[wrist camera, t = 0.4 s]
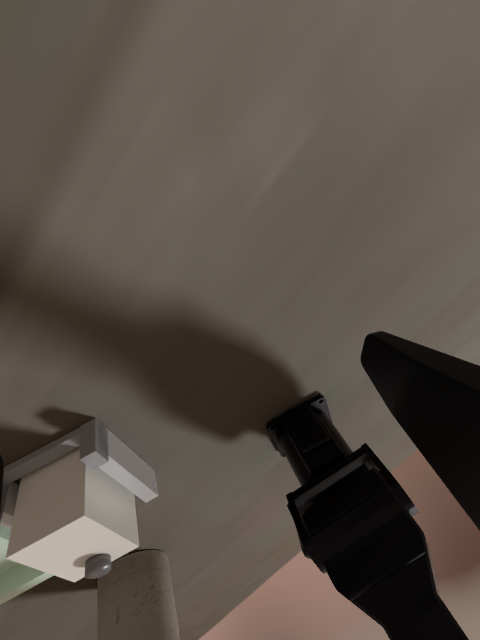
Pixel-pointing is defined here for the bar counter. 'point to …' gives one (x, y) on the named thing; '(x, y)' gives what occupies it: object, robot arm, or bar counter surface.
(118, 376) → the bar counter surface
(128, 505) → the cream knobbed cube
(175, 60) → the bar counter surface
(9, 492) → the dock
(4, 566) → the tray
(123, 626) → the thermos bottle
